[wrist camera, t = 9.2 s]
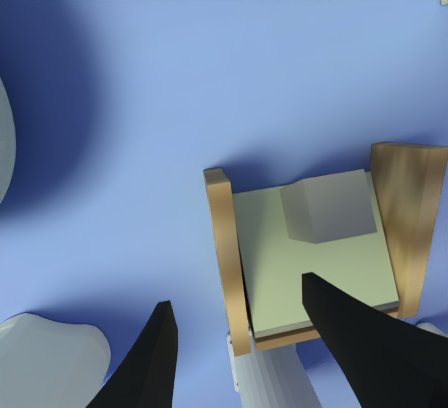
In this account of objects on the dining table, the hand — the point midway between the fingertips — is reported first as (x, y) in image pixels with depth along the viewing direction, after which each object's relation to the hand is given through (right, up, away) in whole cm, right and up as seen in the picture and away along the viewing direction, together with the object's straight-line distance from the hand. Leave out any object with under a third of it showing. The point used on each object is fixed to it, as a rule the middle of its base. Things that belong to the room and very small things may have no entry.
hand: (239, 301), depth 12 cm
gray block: (+7, +5, +8) cm, 11 cm away
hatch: (+7, +1, +9) cm, 11 cm away
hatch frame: (+7, +3, +11) cm, 13 cm away
